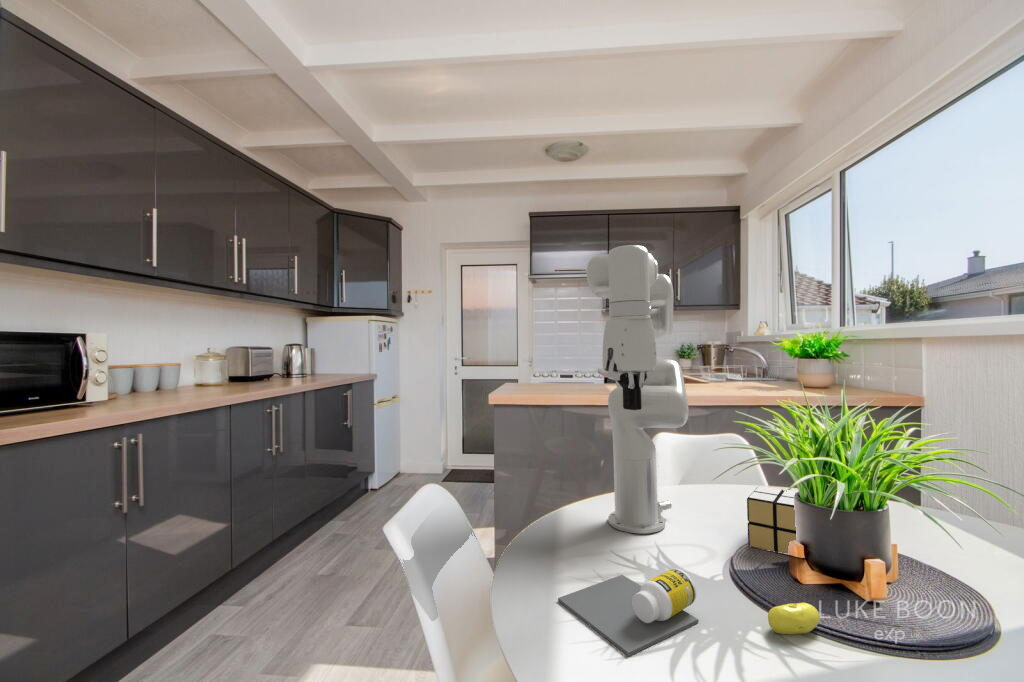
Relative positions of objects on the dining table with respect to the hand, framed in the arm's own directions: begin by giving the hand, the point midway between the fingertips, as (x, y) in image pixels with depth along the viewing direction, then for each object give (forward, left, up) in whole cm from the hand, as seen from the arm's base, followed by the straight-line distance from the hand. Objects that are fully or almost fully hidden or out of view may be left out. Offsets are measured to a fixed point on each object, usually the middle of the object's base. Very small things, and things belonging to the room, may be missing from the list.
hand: (632, 409), depth 89 cm
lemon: (-4, +27, -30) cm, 40 cm away
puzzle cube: (-30, +10, -29) cm, 43 cm away
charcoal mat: (+13, +11, -29) cm, 34 cm away
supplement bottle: (+4, +14, -26) cm, 30 cm away
